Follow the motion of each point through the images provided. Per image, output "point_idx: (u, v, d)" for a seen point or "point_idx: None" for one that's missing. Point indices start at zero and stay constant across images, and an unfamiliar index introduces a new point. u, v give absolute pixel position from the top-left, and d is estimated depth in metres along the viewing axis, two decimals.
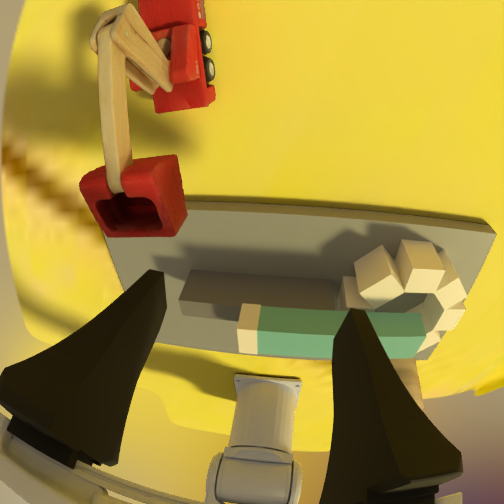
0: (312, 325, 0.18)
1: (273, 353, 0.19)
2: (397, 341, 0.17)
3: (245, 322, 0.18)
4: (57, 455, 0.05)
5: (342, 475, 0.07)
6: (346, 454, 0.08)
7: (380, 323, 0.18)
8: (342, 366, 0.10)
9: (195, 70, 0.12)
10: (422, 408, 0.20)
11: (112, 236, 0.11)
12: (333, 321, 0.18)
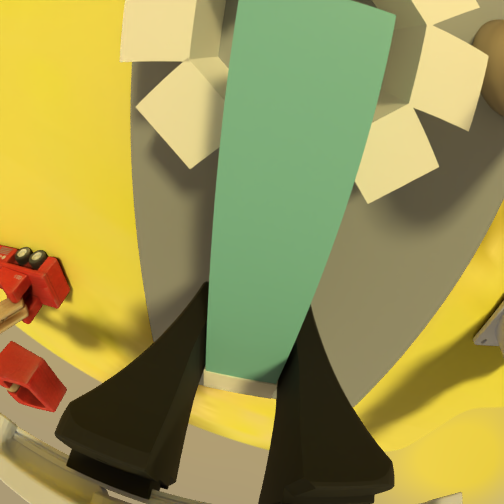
0: None
1: (277, 369, 0.09)
2: (252, 92, 0.05)
3: None
4: (133, 488, 0.05)
5: (273, 472, 0.07)
6: (277, 450, 0.08)
7: None
8: None
9: (17, 280, 0.15)
10: None
11: (50, 409, 0.12)
12: None
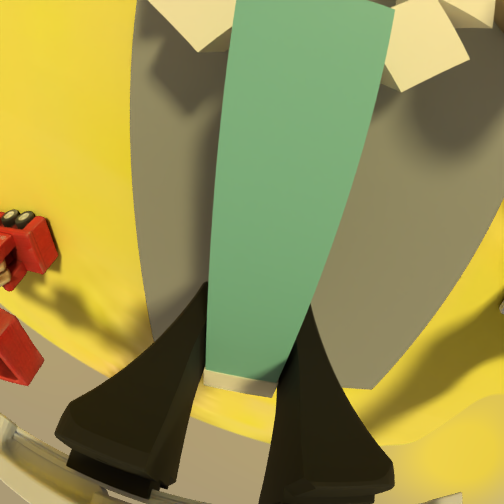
0: None
1: (278, 367, 0.09)
2: (251, 87, 0.04)
3: None
4: (132, 488, 0.05)
5: (273, 472, 0.07)
6: (277, 450, 0.08)
7: None
8: None
9: (0, 240, 0.13)
10: None
11: (23, 382, 0.10)
12: None
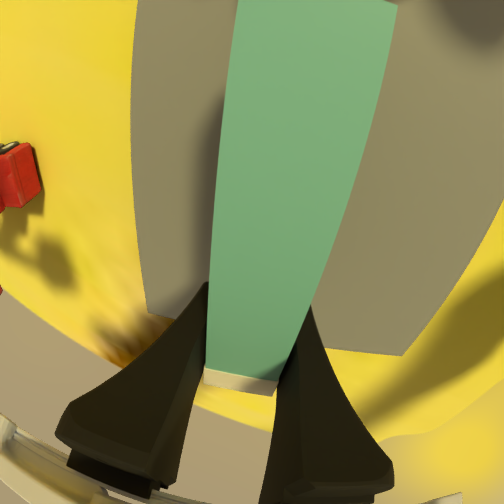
0: None
1: (278, 366, 0.09)
2: (253, 82, 0.04)
3: None
4: (132, 488, 0.05)
5: (273, 472, 0.07)
6: (277, 450, 0.08)
7: None
8: None
9: None
10: None
11: None
12: None
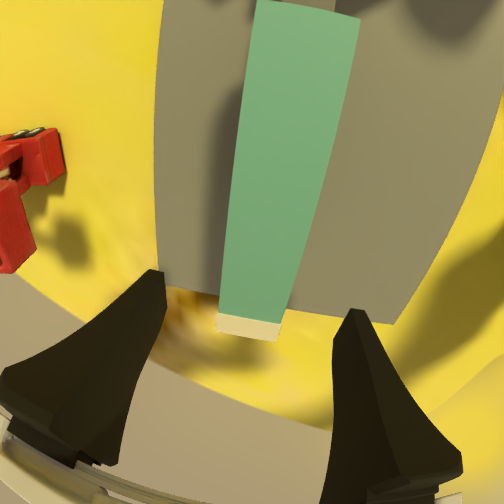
0: None
1: (281, 306, 0.11)
2: (263, 73, 0.06)
3: None
4: (57, 455, 0.05)
5: (341, 475, 0.07)
6: (346, 454, 0.08)
7: None
8: (342, 366, 0.10)
9: (8, 147, 0.12)
10: None
11: (7, 267, 0.09)
12: None
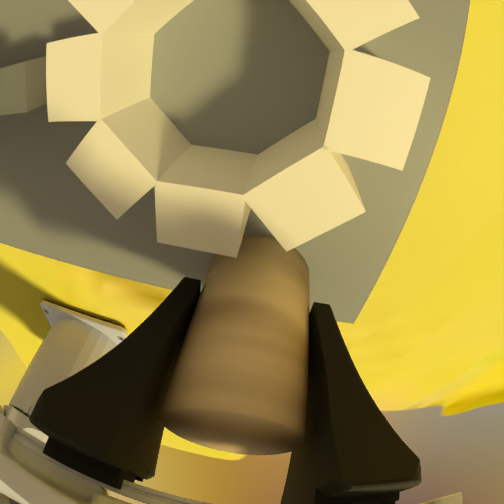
0: None
1: None
2: None
3: None
4: (103, 477, 0.05)
5: (298, 474, 0.07)
6: (302, 452, 0.08)
7: None
8: None
9: None
10: (297, 434, 0.07)
11: None
12: None
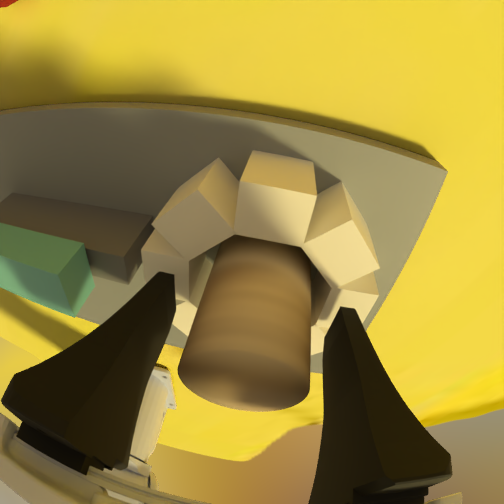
0: None
1: None
2: (27, 271, 0.10)
3: None
4: (69, 461, 0.05)
5: (329, 475, 0.07)
6: (334, 454, 0.08)
7: (21, 243, 0.10)
8: (332, 365, 0.10)
9: None
10: (302, 378, 0.08)
11: None
12: None
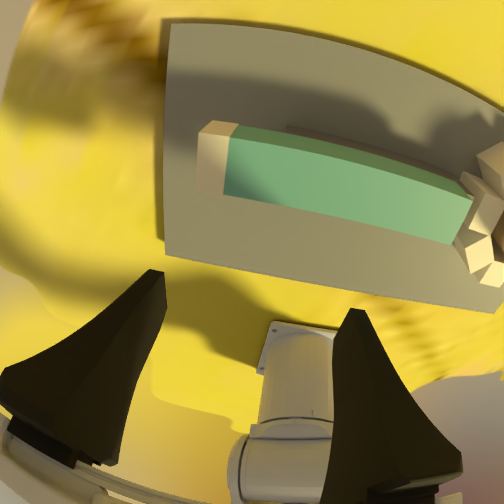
0: (314, 147, 0.11)
1: (248, 195, 0.12)
2: (436, 197, 0.11)
3: (213, 130, 0.11)
4: (57, 455, 0.05)
5: (341, 475, 0.07)
6: (346, 454, 0.08)
7: (410, 171, 0.12)
8: (342, 366, 0.10)
9: None
10: None
11: None
12: (344, 152, 0.12)
